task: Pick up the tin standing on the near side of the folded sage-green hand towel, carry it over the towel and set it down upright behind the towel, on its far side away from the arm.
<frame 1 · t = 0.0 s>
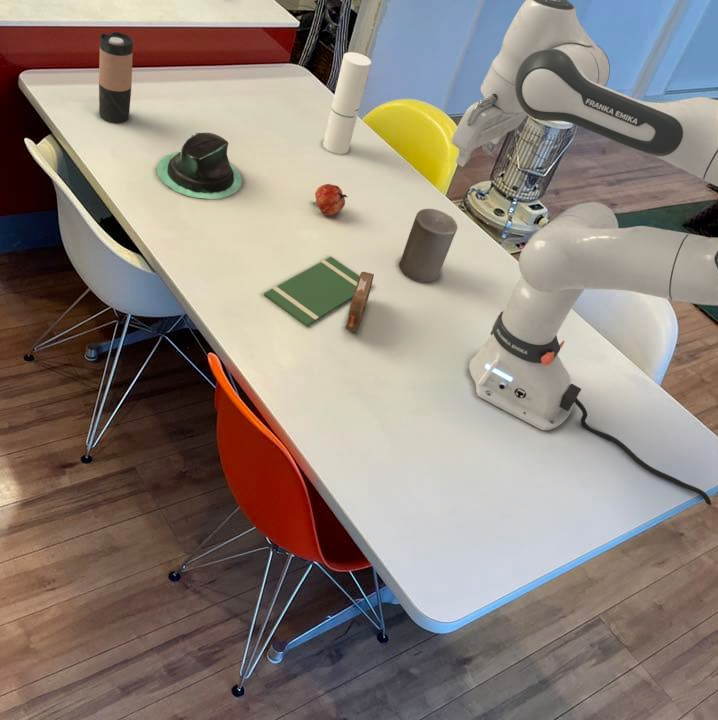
hand: (474, 157, 142), 39 cm above the table, tool pointing down, fingers open, 8 cm apart
tin: (354, 316, 163), on the table
cylindrical container: (335, 147, 213), on the table
travel mug: (114, 116, 197), on the table
hat: (199, 176, 187), on the table
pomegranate: (325, 211, 189), on the table
pillar candle: (418, 270, 181), on the table
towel: (319, 290, 166), on the table
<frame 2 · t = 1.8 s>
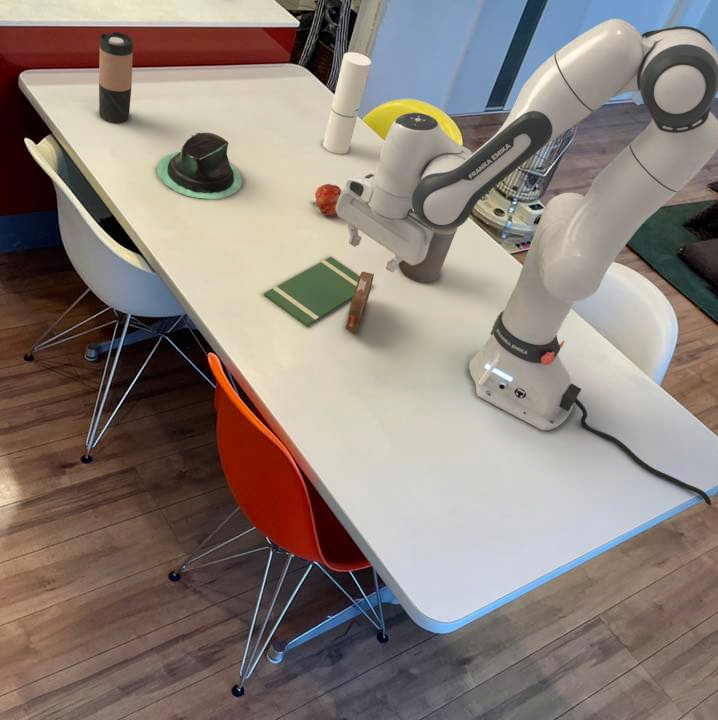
hand: (371, 256, 153), 15 cm above the table, tool pointing down, fingers open, 8 cm apart
nothing on the table moved.
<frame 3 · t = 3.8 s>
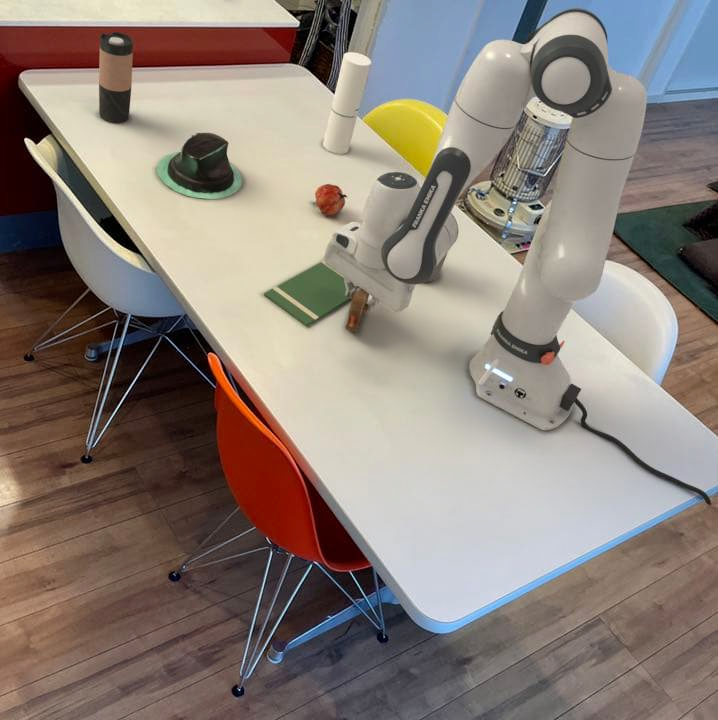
hand: (359, 302, 160), 4 cm above the table, tool pointing down, fingers closed on tin, 4 cm apart
tin: (354, 316, 163), on the table, touching gripper
everything else where it was.
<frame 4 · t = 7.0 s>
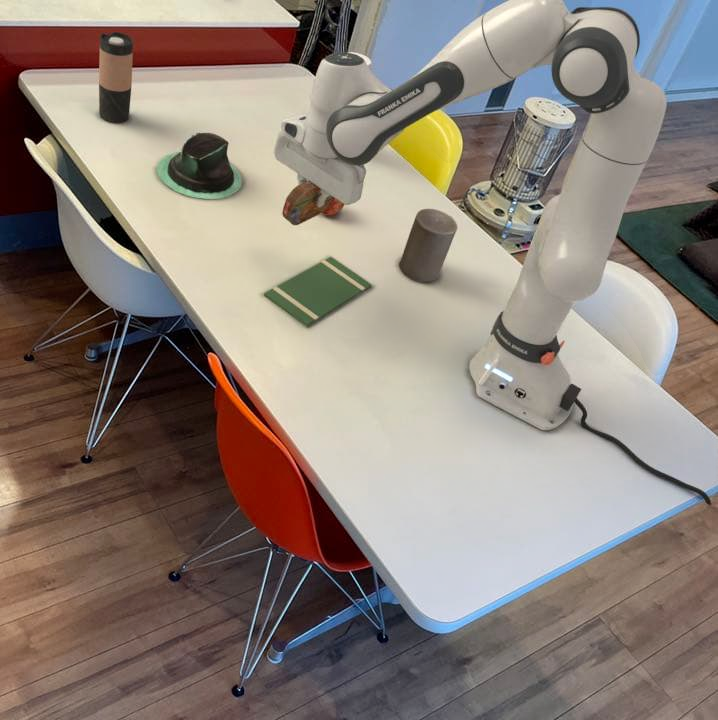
hand: (310, 200, 156), 19 cm above the table, tool pointing down, fingers closed on tin, 2 cm apart
tin: (304, 215, 159), point 15 cm above the table, touching gripper
everything else where it was.
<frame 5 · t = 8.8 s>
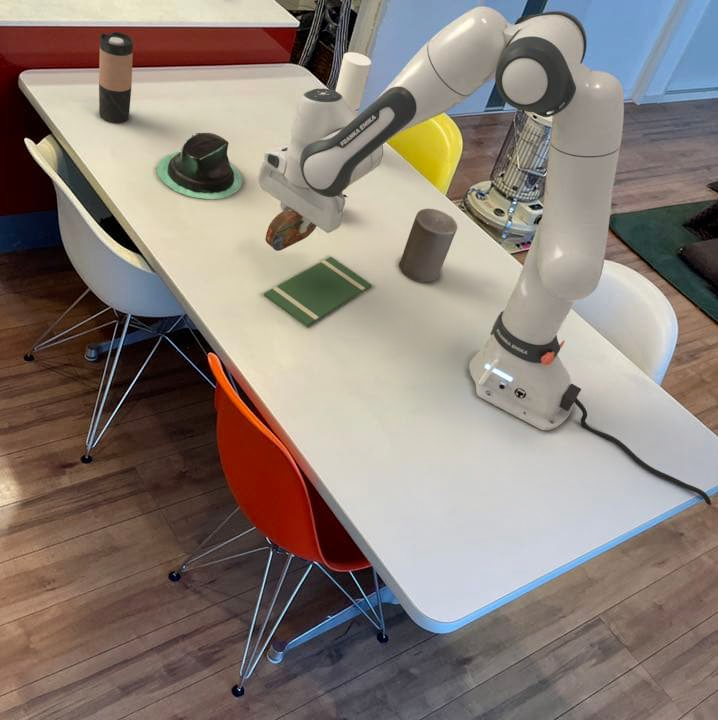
hand: (293, 226, 162), 11 cm above the table, tool pointing down, fingers closed on tin, 2 cm apart
tin: (287, 240, 165), point 7 cm above the table, touching gripper
everything else where it was.
when the fingers open (4 cm above the table, at t = 10.5 s): tin stays where it is, on the table.
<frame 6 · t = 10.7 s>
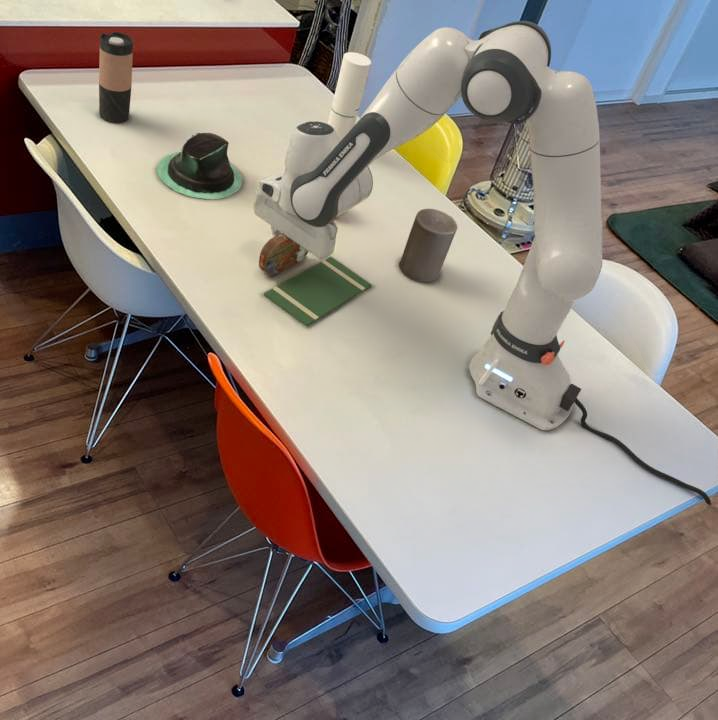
hand: (287, 252, 167), 4 cm above the table, tool pointing down, fingers open, 5 cm apart
tin: (282, 266, 169), on the table
everything else where it was.
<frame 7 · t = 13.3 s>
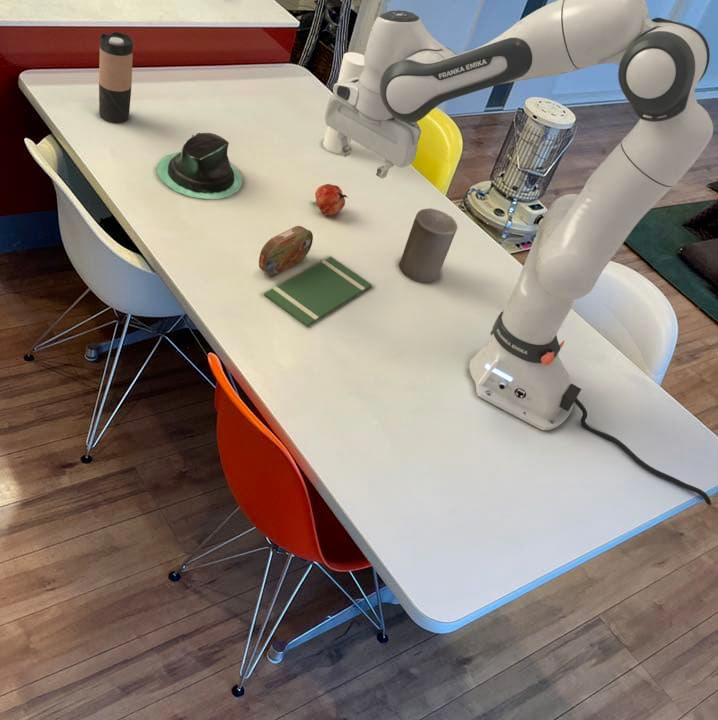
hand: (362, 165, 155), 27 cm above the table, tool pointing down, fingers open, 8 cm apart
nothing on the table moved.
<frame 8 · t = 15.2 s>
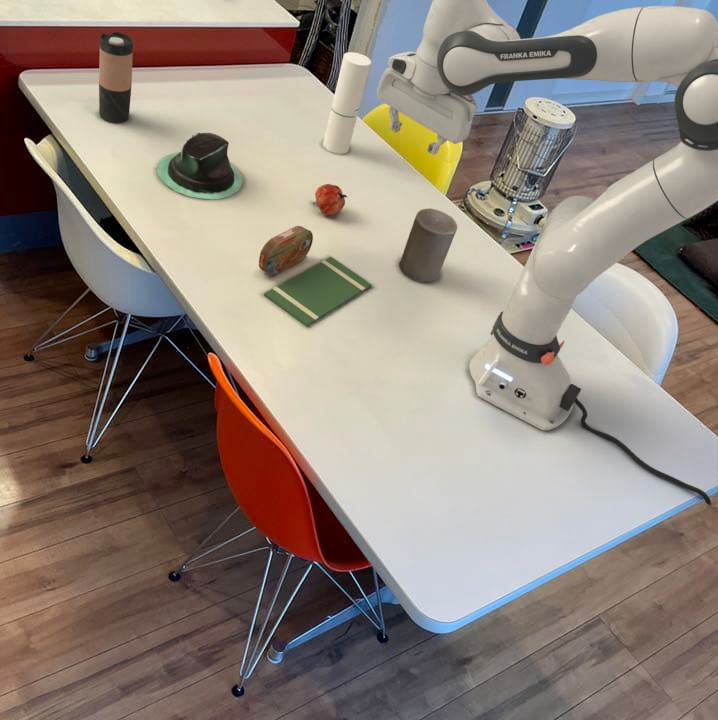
hand: (413, 141, 153), 33 cm above the table, tool pointing down, fingers open, 8 cm apart
nothing on the table moved.
at the end: tin inside the target area on the table beside the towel (0.3 cm from its centre), on the table; tin tilted 0°; the gripper is holding nothing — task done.
